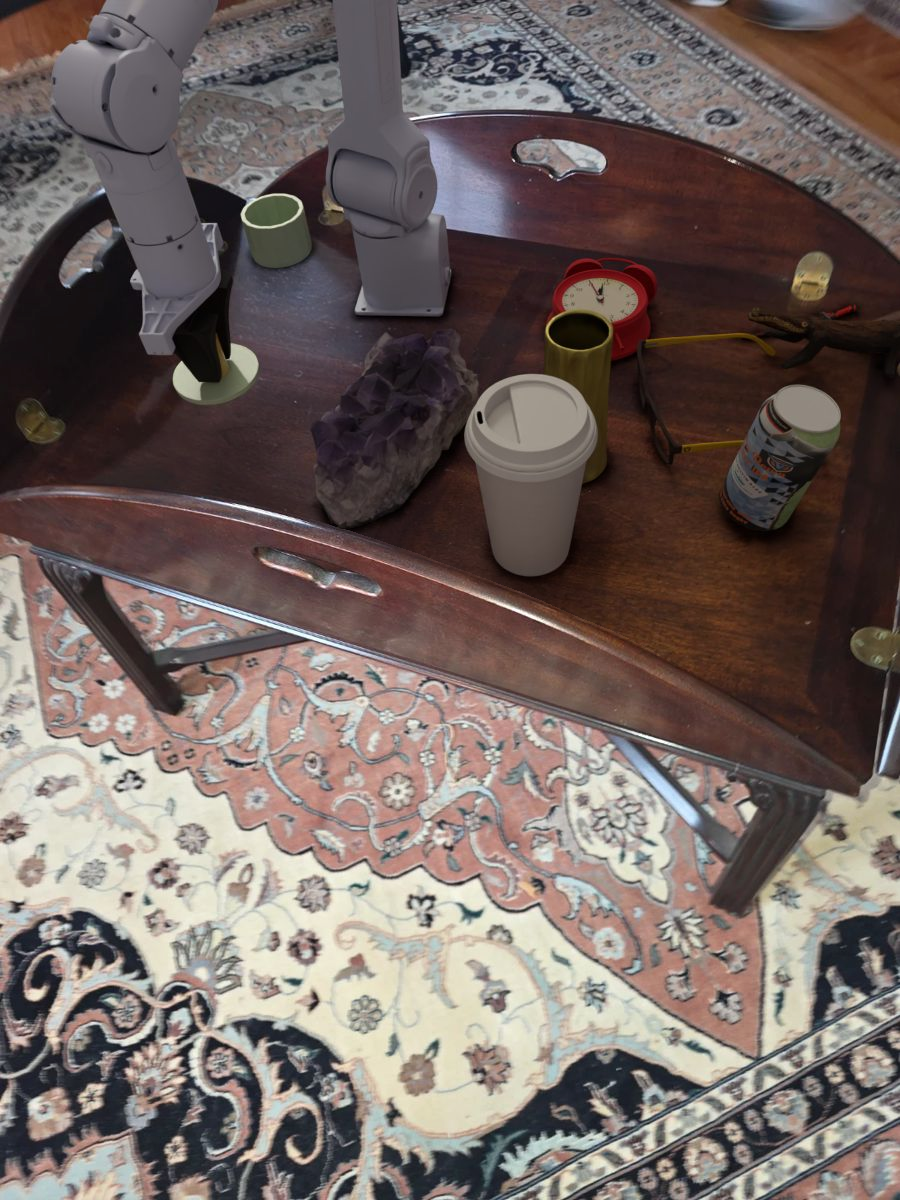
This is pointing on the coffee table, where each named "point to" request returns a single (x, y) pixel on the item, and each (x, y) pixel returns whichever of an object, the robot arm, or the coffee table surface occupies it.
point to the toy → (831, 335)
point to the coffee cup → (530, 467)
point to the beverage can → (780, 457)
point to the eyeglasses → (651, 406)
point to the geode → (391, 426)
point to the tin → (276, 230)
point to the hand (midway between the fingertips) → (214, 367)
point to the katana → (823, 317)
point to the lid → (234, 381)
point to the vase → (583, 368)
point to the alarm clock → (610, 299)
